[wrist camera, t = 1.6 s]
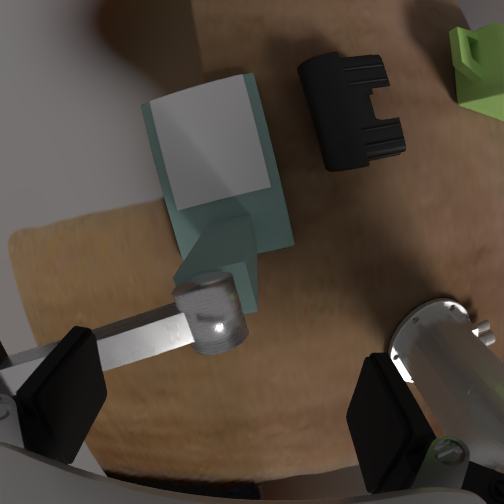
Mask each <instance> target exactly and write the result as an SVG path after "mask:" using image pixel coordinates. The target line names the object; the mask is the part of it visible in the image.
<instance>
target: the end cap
mask: <svg viewBox="0 0 504 504" xmlns="http://www.w3.org/2000/svg"><path fill="white" fill-rule="evenodd" d="M297 71H298V74H299V77H300V80H301V83H302V87H303V90H304V93H305V96H306V100H307V103H308V107H309V110H310V113H311V117H312V120H313V124H314V128H315V131H316V135H317V139H318V142H319V146H320V150H321V154H322V158H323V161H324V165H325V169H326V170H327V171H330V172H334V171H344V170H350V169H356V168H361V167H366V166H369V161H371V160H376V159H381V158H385V157H390V156H395V155H399V154H400V153H401V152H404V151H405V150H406V144H405V140H404V136H403V131H402V127H401V123H400V119H399V117H398V118H392V119H385V120H379V119H376V118H375V114H374V110H373V107H372V103H371V100H370V96H369V95H370V94H373V92H372V88H378V87H386V86H390V83H389V80H388V77H387V74H386V71H385V67H384V64H383V61H382V59H381V57H380V56H379V55H364V56H355V57H347V58H340V57H339V54H338V52H332V53H327V54H323V55H319V56H316V57H313V58H311V59H308V60H306V61H305V62H303V63H301V64H300V65H299V66H298V69H297Z"/></svg>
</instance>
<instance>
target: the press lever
mask: <svg viewBox="0 0 504 504" xmlns="http://www.w3.org/2000/svg"><path fill="white" fill-rule="evenodd" d="M172 295H173V298H174V301H175V302H173V303H170V304H167V305H165V306H162V307H159V308H156V309H153V310H150V311H147V312H144V313H141V314H138V315H135V316H132V317H129V318H126V319H123V320H120V321H117V322H114V323H111V324H108V325H104V326H101V327H98V328H95V329H92V330H91V331H92V333H94V334H95V335H96V339H97V345H98V351H99V356H100V361H101V366H102V371H106V370H109V369H112V368H116V367H119V366H122V365H125V364H128V363H132V362H135V361H138V360H141V359H144V358H147V357H150V356H153V355H156V354H159V353H162V352H165V351H168V350H171V349H174V348H177V347H180V346H183V345H186V344H189V343H190V344H191V346H192V349H193V350H194V351H195V352H197V353H200V354H204V355H213V354H220V353H223V352H226V351H229V350H231V349H233V348H235V347H237V346H238V345H240V344H241V343H242V342H243V341H244V340H245V339H246V338H247V336H248V333H249V332H248V327H247V324H246V320H245V317H244V313H243V310H242V306H241V303H240V299H239V296H238V292H237V289H236V285H235V282H234V278H233V275H232V274H231V273H229V272H225V271H216V272H209V273H205V274H201V275H198V276H195V277H192V278H190V279H188V280H186V281H184V282H182V283H180V284H179V285H178V286H176V287H175V288H174V290H173V291H172ZM61 340H62V339H61ZM61 340H58V341H55V342H52V343H48V344H45V345H42V346H39V347H36V348H32V349H29V350H26V351H23V352H20V353H17V354H13V355H10V356H8V355H7V353H6V351H5V349H4V347H3V346H2V344H1V342H0V394H4V395H8V396H10V397H11V398H12V399H14V398H15V397H16V396H17V395H16V391H17V390H18V389H19V388H20V387H21V386H22V384H23V383H24V382H25V381H26V380H27V378H28V377H29V376H30V375H31V374H32V373H33V371H34V370H35V369H36V368H37V367H38V366H39V365H40V363H41V362H42V361H43V360H44V359H45V358H46V357H47V356H48V354H49V353H50V352H51V351H52V350H53V349H54V348H55V347H56V346H57V344H58V343H59V342H60V341H61Z"/></svg>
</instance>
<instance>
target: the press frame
mask: <svg viewBox="0 0 504 504" xmlns="http://www.w3.org/2000/svg"><path fill="white" fill-rule="evenodd" d="M141 107H142V112H143V116H144V121H145V125H146V129H147V133H148V137H149V141H150V145H151V149H152V153H153V157H154V161H155V165H156V169H157V173H158V176H159V180H160V183H161V187H162V191H163V195H164V198H165V202H166V205H167V209H168V212H169V216H170V219H171V223H172V226H173V229H174V233H175V236H176V239H177V243H178V246H179V249H180V252H181V256H182V259H183V263H182V264H181V266H180V268H179V269H178V271H177V272H176V274H175V275H174V277H173V279H174V282H175V285H176V286H178V285H179V284H180V283H182V282H184V281H186V280H188V279H190V278H192V277H195V276H198V275H201V274H205V273H209V272H216V271H225V272H229V273H231V274H232V275H233V278H234V282H235V285H236V289H237V292H238V296H239V299H240V303H241V306H242V310H243V313H244V314H249V313H254V312H258V272H257V254H260V253H264V252H268V251H273V250H277V249H281V248H286V247H290V246H294V245H295V244H294V239H293V234H292V230H291V225H290V221H289V216H288V212H287V207H286V203H285V198H284V194H283V190H282V185H281V181H280V177H279V172H278V168H277V164H276V160H275V156H274V152H273V147H272V143H271V139H270V135H269V131H268V127H267V123H266V119H265V116H264V112H263V108H262V104H261V100H260V96H259V92H258V89H257V85H256V81H255V78H254V74H253V73H248V74H244V75H242V74H240V75H236V76H232V77H228V78H224V79H220V80H216V81H213V82H209V83H205V84H202V85H198V86H195V87H192V88H188V89H185V90H182V91H178V92H175V93H172V94H169V95H166V96H163V97H160V98H157V99H154V100H152V101H149V102H148V103H145V104H143V105H141Z"/></svg>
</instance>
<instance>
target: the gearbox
mask: <svg viewBox="0 0 504 504" xmlns="http://www.w3.org/2000/svg"><path fill="white" fill-rule="evenodd" d="M449 38H450V45H451V53H452V62H453V66H454V67H455V80H456V94H457V102H458V105H459V106H462V107H465V108H468V109H471V110H474V111H477V112H479V113H482V114H485V115H488V116H491V117H493V118H496V119H499V120H502V121H504V25H503V24H501V23H498V22H493V23H491V24H489V25H487V26H485V27H483V28H481V29H478V30H476V31H470V30H467V29H464V28H460V27H455V28H454V29H452V30H450V31H449Z"/></svg>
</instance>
